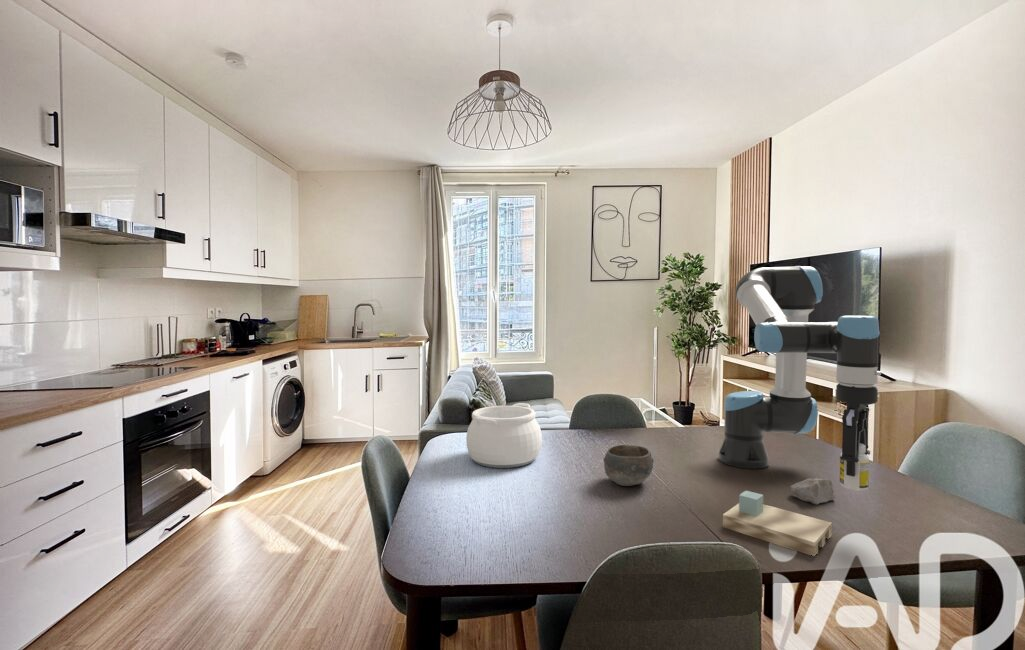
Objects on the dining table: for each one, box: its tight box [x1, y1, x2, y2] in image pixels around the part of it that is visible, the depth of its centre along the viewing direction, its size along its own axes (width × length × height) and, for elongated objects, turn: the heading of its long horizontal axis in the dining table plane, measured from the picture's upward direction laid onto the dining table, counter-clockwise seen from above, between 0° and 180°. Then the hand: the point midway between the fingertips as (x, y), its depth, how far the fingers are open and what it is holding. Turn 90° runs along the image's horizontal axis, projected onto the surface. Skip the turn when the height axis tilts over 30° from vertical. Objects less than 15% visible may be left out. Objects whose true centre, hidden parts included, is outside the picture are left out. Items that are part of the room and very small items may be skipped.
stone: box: [790, 477, 836, 506], centre depth 128 cm, size 10×8×6 cm
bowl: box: [603, 444, 655, 487], centre depth 141 cm, size 14×15×10 cm
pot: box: [466, 402, 543, 469], centre depth 166 cm, size 29×26×17 cm
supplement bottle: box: [839, 443, 870, 492], centre depth 108 cm, size 5×5×10 cm
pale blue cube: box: [738, 490, 764, 516], centre depth 114 cm, size 4×4×4 cm
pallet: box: [722, 502, 833, 557], centre depth 110 cm, size 19×13×3 cm
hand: (854, 485), depth 108 cm, fingers closed on supplement bottle, 5 cm apart
